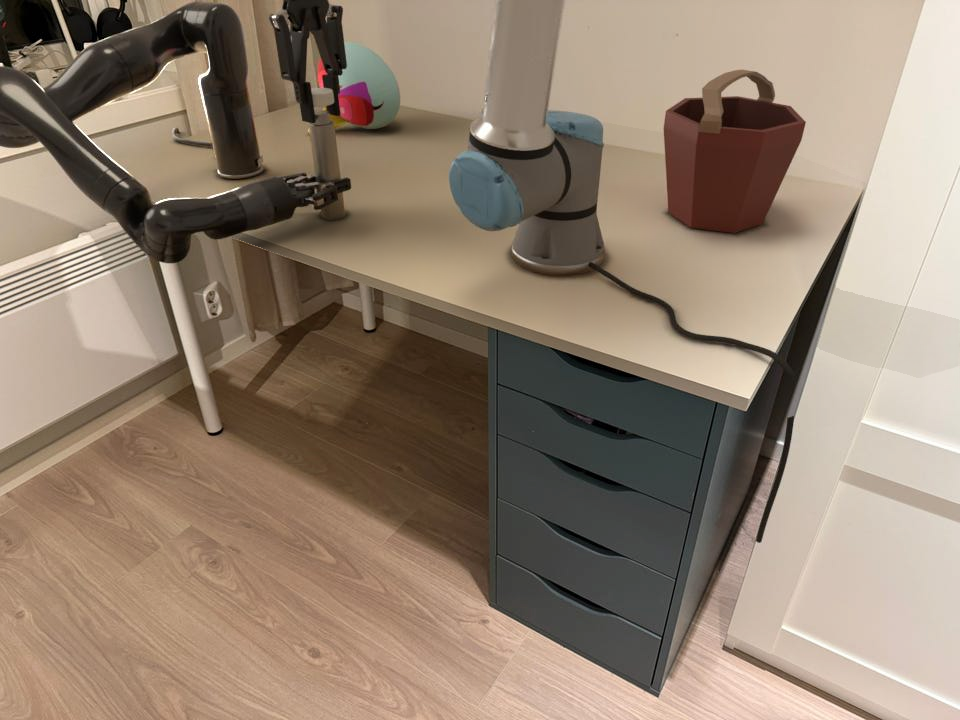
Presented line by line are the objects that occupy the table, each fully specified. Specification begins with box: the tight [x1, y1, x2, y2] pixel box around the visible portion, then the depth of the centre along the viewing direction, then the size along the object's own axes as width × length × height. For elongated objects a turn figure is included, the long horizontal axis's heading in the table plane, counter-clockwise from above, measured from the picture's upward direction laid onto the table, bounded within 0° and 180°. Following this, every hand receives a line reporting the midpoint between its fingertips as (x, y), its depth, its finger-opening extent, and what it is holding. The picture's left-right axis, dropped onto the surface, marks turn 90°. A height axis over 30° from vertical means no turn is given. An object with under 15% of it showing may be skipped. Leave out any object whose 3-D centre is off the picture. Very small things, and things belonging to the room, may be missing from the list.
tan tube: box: [307, 109, 346, 221], centre depth 128 cm, size 4×4×19 cm
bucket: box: [663, 69, 807, 234], centre depth 125 cm, size 24×22×25 cm
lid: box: [311, 87, 334, 108], centre depth 121 cm, size 5×5×2 cm
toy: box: [307, 41, 401, 133], centre depth 176 cm, size 24×24×20 cm
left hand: (341, 179), depth 131 cm, fingers closed on tan tube, 4 cm apart
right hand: (321, 117), depth 123 cm, fingers closed on lid, 5 cm apart
